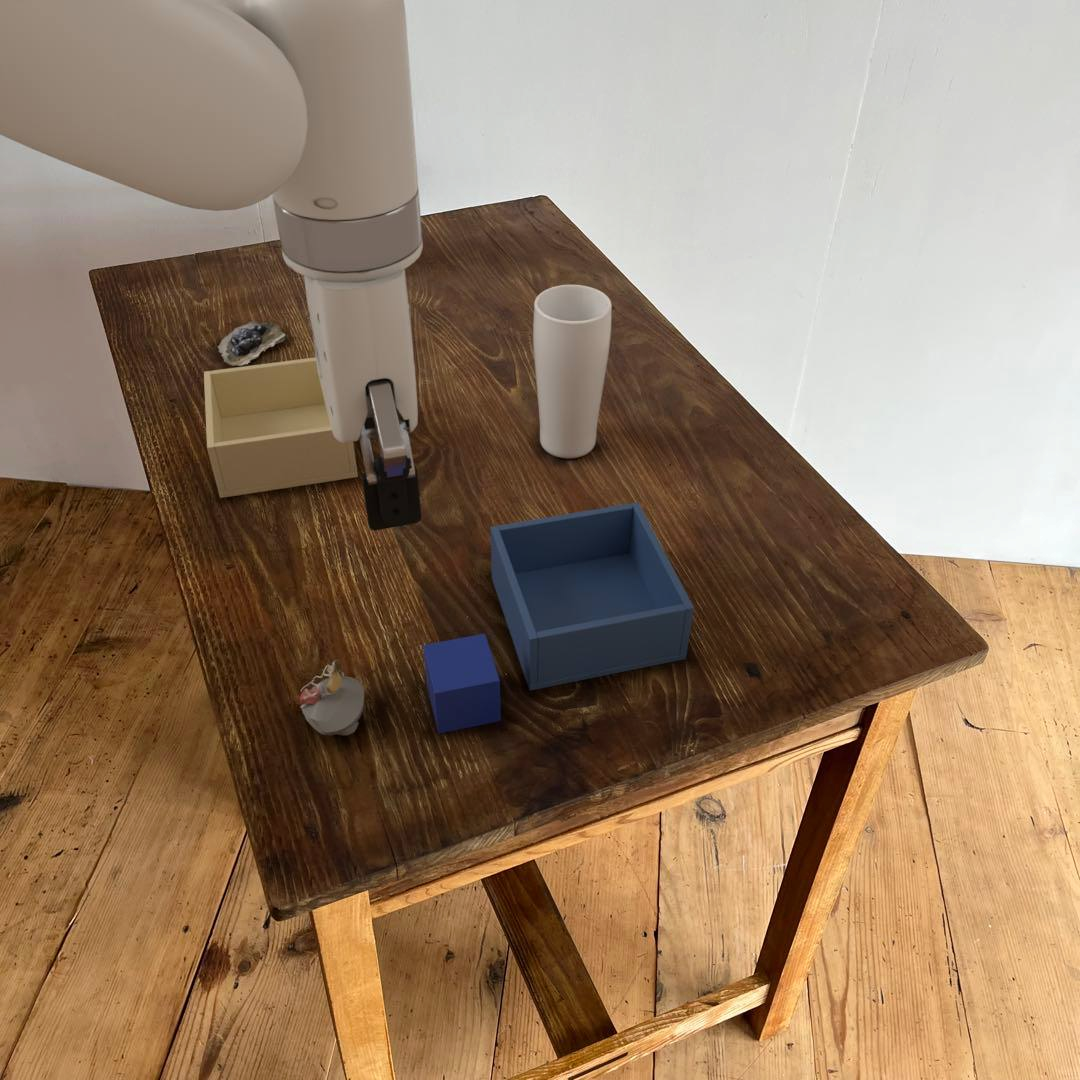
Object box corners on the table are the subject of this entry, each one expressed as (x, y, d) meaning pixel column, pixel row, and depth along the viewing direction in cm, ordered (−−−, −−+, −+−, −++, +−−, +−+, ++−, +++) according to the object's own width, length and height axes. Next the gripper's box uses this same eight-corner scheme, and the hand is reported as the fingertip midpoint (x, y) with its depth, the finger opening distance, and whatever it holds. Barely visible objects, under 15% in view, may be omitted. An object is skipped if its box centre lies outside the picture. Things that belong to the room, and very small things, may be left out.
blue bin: (529, 691, 74) (529, 639, 70) (491, 578, 83) (490, 526, 79) (685, 659, 76) (694, 607, 73) (633, 552, 85) (638, 501, 81)
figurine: (366, 746, 70) (356, 690, 66) (301, 750, 70) (287, 694, 66) (368, 687, 74) (359, 631, 70) (307, 690, 74) (295, 635, 70)
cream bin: (220, 498, 90) (206, 447, 86) (215, 420, 98) (203, 371, 95) (358, 477, 92) (351, 427, 88) (341, 403, 101) (335, 354, 97)
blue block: (438, 734, 71) (434, 693, 68) (426, 686, 74) (422, 644, 71) (500, 721, 72) (499, 680, 69) (486, 674, 75) (485, 632, 72)
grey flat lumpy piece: (296, 332, 111) (293, 317, 109) (263, 371, 105) (260, 355, 104) (239, 324, 112) (236, 308, 111) (204, 362, 106) (200, 346, 105)
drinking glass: (582, 416, 100) (589, 277, 90) (616, 454, 95) (627, 312, 85) (520, 434, 97) (520, 293, 87) (551, 474, 93) (555, 330, 83)
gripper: (263, 168, 59) (306, 410, 71) (297, 313, 47) (342, 577, 58) (390, 155, 61) (412, 394, 72) (455, 291, 49) (469, 552, 60)
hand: (381, 475), depth 65 cm, fingers open, 9 cm apart
